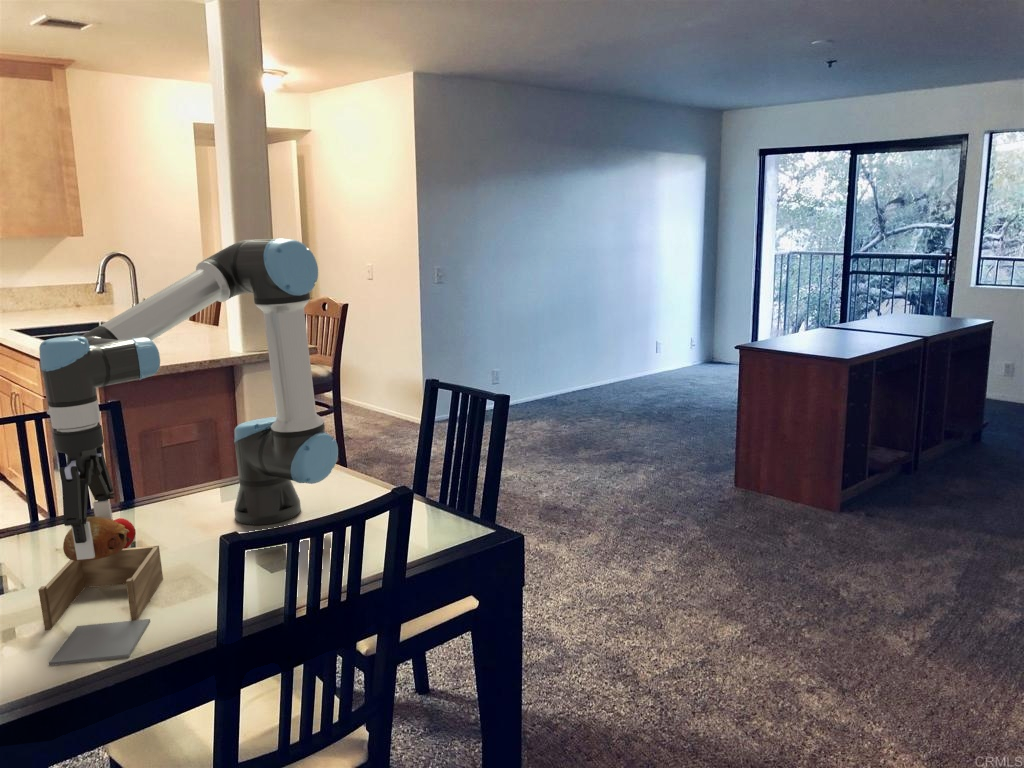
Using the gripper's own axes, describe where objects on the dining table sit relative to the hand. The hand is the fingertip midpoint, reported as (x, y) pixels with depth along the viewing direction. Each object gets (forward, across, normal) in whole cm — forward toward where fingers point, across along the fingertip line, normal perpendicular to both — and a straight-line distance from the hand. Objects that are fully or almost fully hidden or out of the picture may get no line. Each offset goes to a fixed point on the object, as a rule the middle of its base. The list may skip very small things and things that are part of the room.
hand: (96, 546), depth 144 cm
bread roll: (+1, 0, 0) cm, 1 cm away
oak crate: (+12, -2, 0) cm, 12 cm away
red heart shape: (+12, -18, -4) cm, 23 cm away
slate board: (+12, +14, +4) cm, 18 cm away
